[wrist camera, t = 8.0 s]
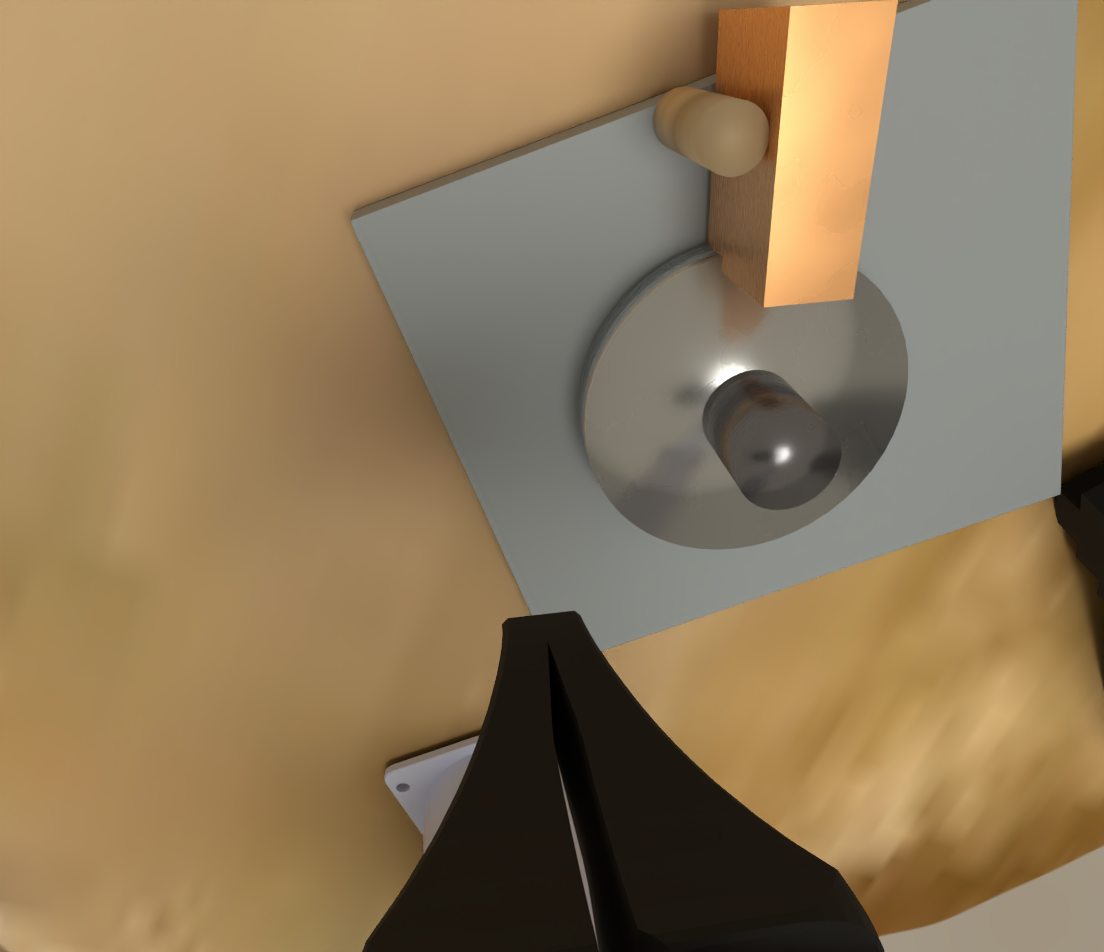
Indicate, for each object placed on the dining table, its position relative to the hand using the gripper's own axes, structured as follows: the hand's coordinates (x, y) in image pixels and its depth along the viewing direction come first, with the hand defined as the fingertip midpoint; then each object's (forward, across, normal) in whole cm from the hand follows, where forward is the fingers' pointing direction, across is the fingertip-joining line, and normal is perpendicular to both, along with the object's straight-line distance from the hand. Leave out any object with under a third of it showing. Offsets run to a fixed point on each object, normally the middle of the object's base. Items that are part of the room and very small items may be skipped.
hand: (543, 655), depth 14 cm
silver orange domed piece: (+9, -7, -3) cm, 11 cm away
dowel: (+9, -5, -8) cm, 13 cm away
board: (+10, -8, -1) cm, 13 cm away
